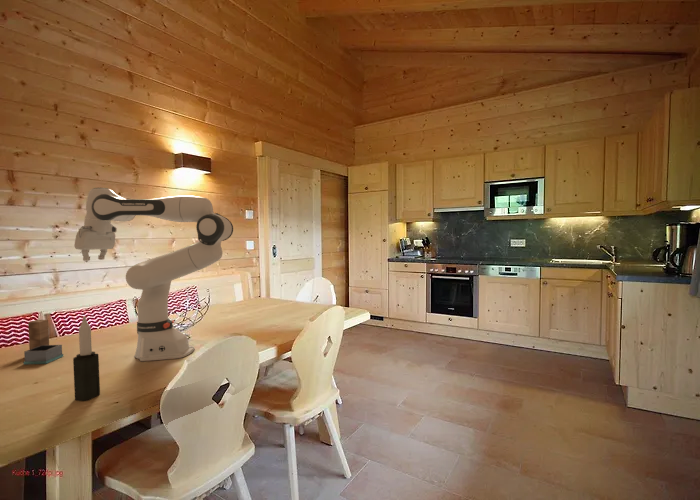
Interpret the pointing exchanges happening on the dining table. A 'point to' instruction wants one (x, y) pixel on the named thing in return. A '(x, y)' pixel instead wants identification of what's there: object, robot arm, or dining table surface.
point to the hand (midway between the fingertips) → (94, 260)
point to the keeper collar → (43, 354)
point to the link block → (38, 333)
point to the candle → (86, 367)
